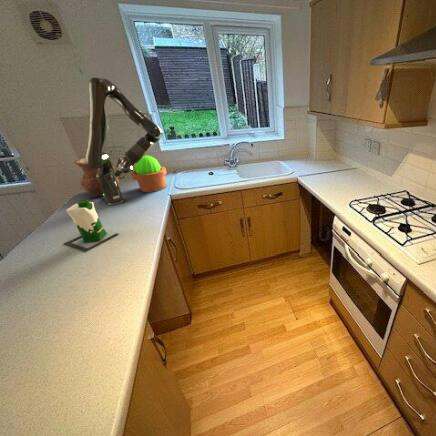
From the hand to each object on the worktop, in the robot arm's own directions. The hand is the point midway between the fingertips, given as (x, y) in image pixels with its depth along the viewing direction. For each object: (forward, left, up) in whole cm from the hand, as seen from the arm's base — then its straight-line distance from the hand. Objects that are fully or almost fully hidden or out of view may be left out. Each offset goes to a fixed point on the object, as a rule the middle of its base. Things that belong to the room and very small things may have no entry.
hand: (115, 175), depth 136 cm
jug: (-47, +15, -23) cm, 54 cm away
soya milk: (+13, -27, -23) cm, 38 cm away
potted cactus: (-19, +34, -23) cm, 45 cm away
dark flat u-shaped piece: (+12, -28, -22) cm, 38 cm away
